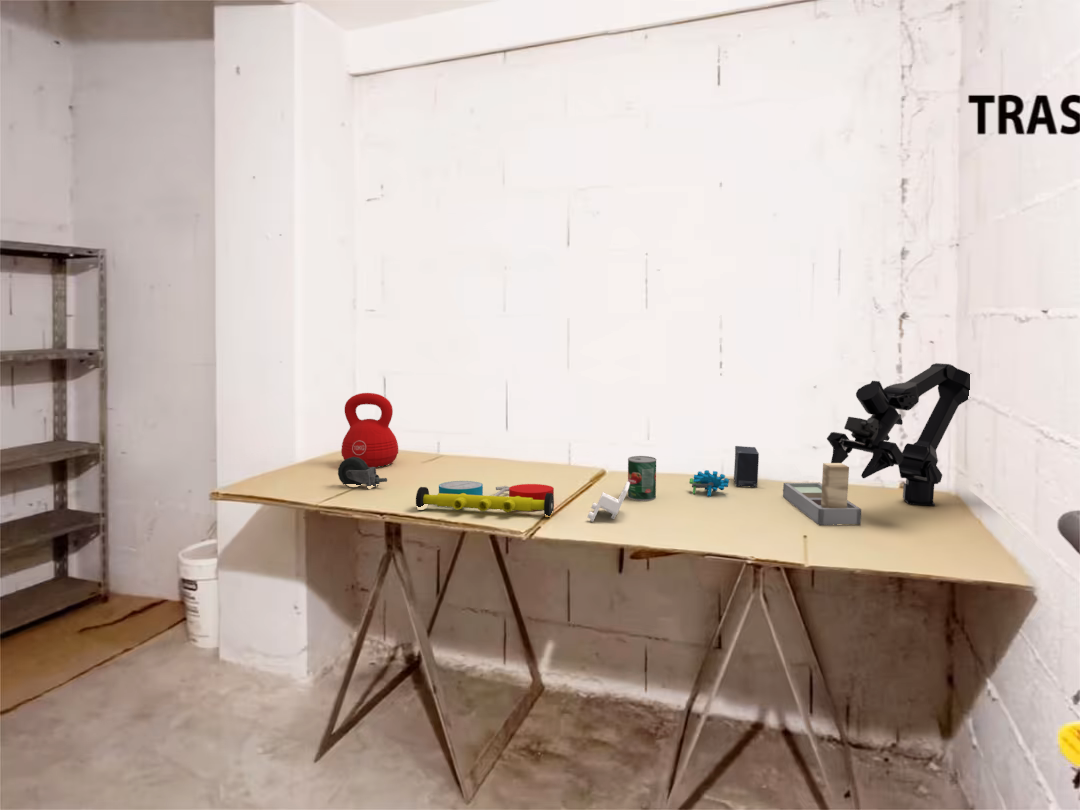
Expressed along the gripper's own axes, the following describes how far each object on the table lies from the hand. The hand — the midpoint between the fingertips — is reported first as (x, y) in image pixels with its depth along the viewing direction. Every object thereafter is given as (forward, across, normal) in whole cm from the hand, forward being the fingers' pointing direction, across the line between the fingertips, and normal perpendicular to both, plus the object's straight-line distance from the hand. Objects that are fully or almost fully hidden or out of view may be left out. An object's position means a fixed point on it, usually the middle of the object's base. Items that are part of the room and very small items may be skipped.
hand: (846, 473), depth 172 cm
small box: (+5, -38, +11) cm, 40 cm away
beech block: (+9, 0, +3) cm, 9 cm away
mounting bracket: (+45, -29, -28) cm, 60 cm away
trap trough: (+8, -8, +8) cm, 14 cm away
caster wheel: (+79, -90, -61) cm, 134 cm away
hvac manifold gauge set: (+60, -54, -42) cm, 91 cm away
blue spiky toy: (+18, -34, -1) cm, 39 cm away
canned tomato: (+32, -41, -15) cm, 54 cm away
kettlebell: (+72, -120, -55) cm, 150 cm away
